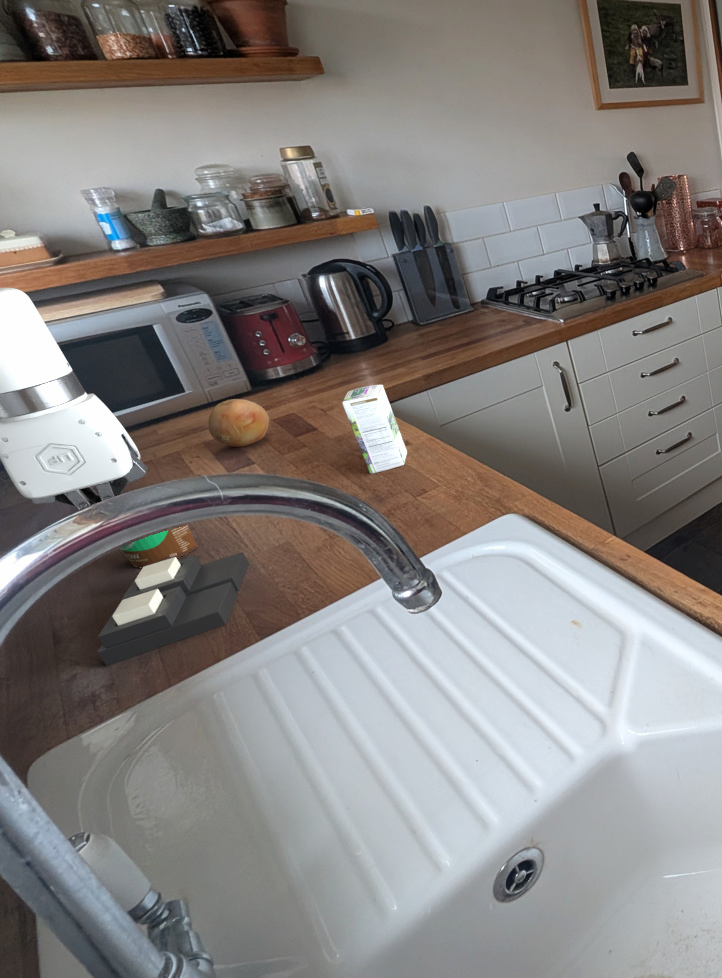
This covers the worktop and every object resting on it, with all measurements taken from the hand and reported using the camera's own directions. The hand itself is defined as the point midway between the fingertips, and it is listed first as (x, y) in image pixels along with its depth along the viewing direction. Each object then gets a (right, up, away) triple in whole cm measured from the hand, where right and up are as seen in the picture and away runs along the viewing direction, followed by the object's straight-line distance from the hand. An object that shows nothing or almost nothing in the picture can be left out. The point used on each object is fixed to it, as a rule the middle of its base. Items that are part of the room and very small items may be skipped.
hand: (119, 528), depth 85 cm
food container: (-12, -9, +17) cm, 23 cm away
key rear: (0, -8, +6) cm, 10 cm away
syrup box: (+11, +4, +39) cm, 41 cm away
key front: (+4, -10, -1) cm, 11 cm away
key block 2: (+6, -13, +1) cm, 14 cm away
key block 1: (+2, -11, +8) cm, 13 cm away
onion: (-29, +6, +56) cm, 63 cm away
